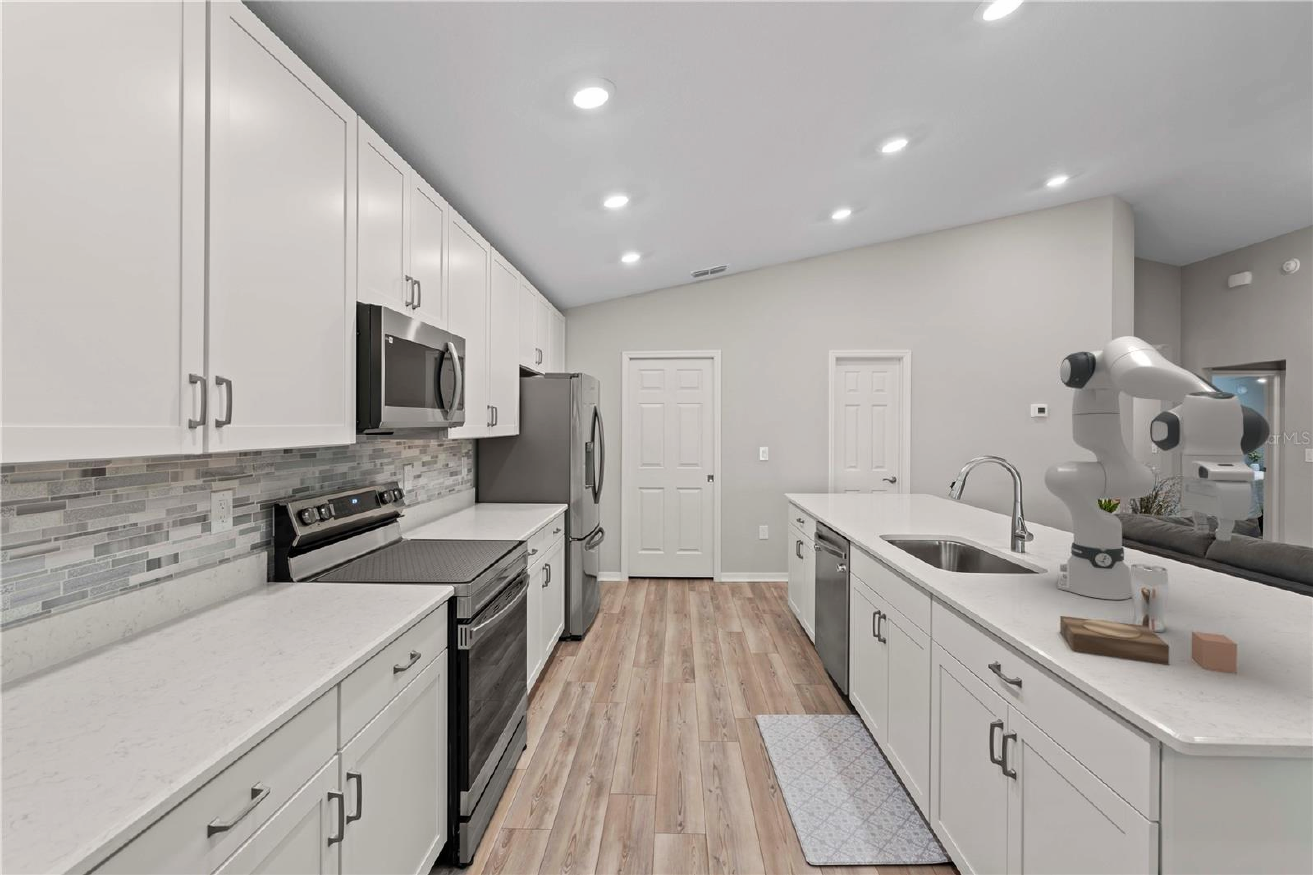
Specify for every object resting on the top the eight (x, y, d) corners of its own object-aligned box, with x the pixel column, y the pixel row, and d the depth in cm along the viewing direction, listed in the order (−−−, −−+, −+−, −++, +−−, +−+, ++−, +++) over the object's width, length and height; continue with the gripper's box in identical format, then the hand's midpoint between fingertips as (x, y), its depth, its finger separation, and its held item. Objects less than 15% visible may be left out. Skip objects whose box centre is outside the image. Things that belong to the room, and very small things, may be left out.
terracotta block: (1191, 659, 114) (1191, 631, 114) (1223, 663, 112) (1223, 635, 111) (1203, 669, 109) (1203, 640, 109) (1236, 673, 107) (1236, 644, 107)
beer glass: (1175, 634, 127) (1176, 571, 127) (1141, 632, 128) (1142, 570, 128) (1154, 623, 134) (1155, 564, 133) (1122, 622, 135) (1123, 563, 135)
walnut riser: (1060, 632, 129) (1060, 614, 129) (1146, 643, 122) (1146, 624, 122) (1073, 651, 118) (1073, 631, 118) (1168, 664, 111) (1168, 643, 111)
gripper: (1171, 466, 121) (1171, 527, 121) (1213, 471, 103) (1214, 543, 103) (1209, 467, 118) (1209, 529, 118) (1260, 472, 100) (1260, 546, 100)
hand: (1212, 536), depth 110 cm, fingers open, 8 cm apart
